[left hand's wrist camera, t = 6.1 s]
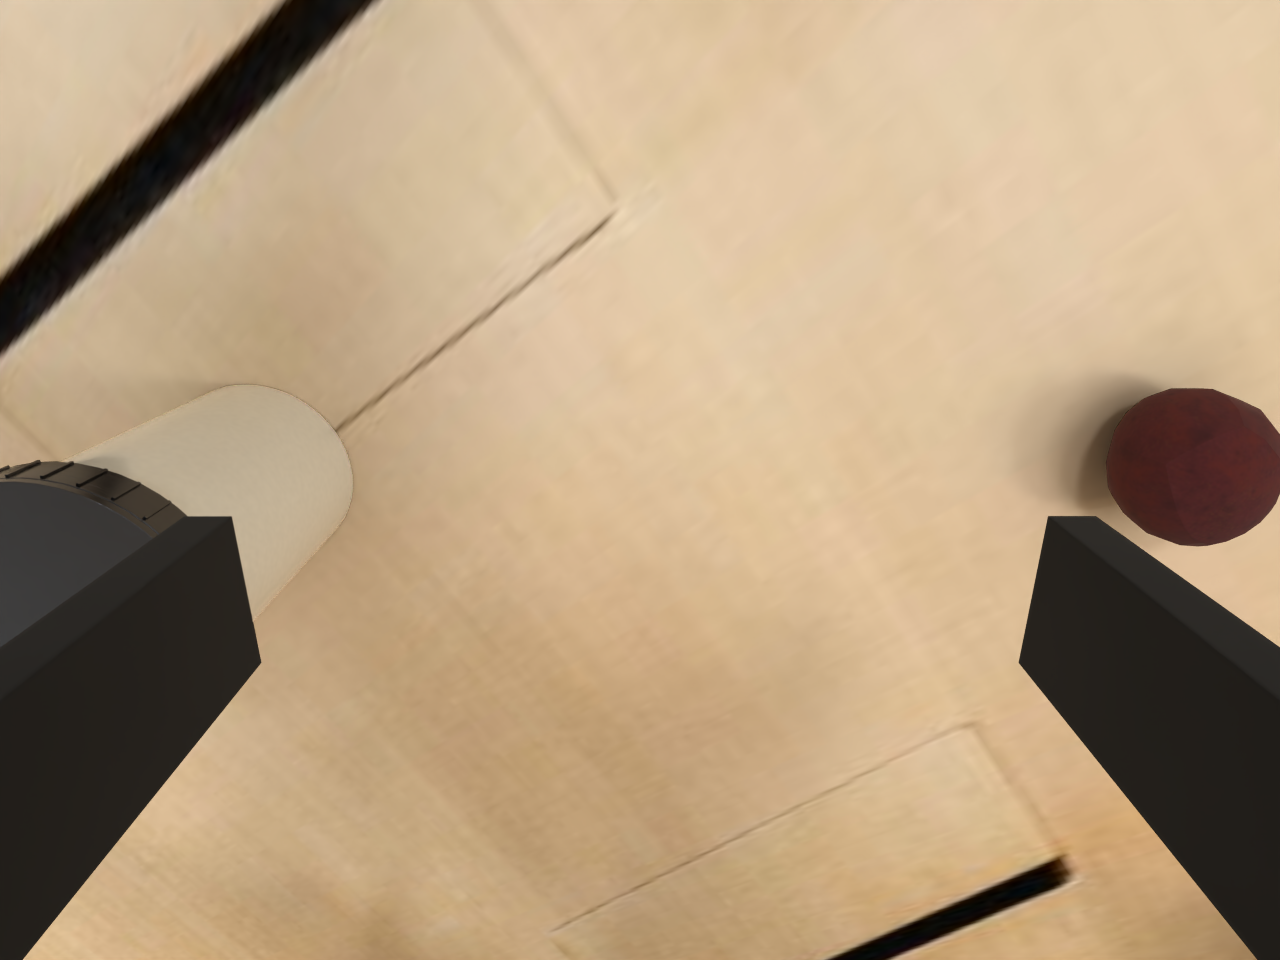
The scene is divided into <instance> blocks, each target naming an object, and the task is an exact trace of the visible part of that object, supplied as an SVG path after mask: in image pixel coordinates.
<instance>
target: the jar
mask: <svg viewBox="0 0 1280 960" xmlns="http://www.w3.org/2000/svg"><path fill="white" fill-rule="evenodd" d="M69 461H74V463H79V464H84V465H89V466H94V467H99V468H102V469H104V468H106V469H108V470H109V471H112V472H115V473H118V474H121V475H123V476H125V477H128V478H130V479H132V480H134V481H137V482H138V481H139V482H141V484H143V485H145V486H146V487H148V488H150V489H152V490H153V491H155V492H157V493H159V494H160V495H162V496H163V497H164V498H166V499H167V500H170V501H171V502H172V503H173V504H174V505H175V506H177V507H178V508H179V509H180V510H181V511H183V512H184V513H185V514H186V515H187V516H232V520H233V525H234V529H235V534H236V539H237V544H238V549H239V554H240V559H241V564H242V569H243V574H244V579H245V584H246V589H247V594H248V599H249V604H250V609H251V614H252V619H253V622H254V621H255V620H256V619H257V618H258V617H259V615H260V614H261V613H262V612H263V611H264V610H265V609H266V608H267V607H268V605H269V604H270V603H271V602H272V601H273V600H274V599H275V598H276V597H277V595H278V594H279V593H280V592H281V591H282V590H283V589H284V588H285V587H286V585H287V584H288V583H289V582H290V581H291V580H292V579H293V578H294V576H295V575H296V574H297V573H298V572H299V571H300V570H301V569H302V568H303V566H304V565H305V564H306V563H307V562H308V561H309V560H310V559H311V558H312V556H313V555H314V554H315V553H316V552H317V551H318V550H319V549H320V548H321V546H322V545H323V544H324V543H325V542H326V541H327V540H328V539H329V537H330V536H331V535H332V534H333V533H334V532H335V531H336V530H337V528H338V527H339V526H340V525H341V523H342V521H343V520H344V518H345V516H346V514H347V512H348V510H349V507H350V503H351V499H352V492H353V475H352V469H351V464H350V461H349V458H348V454H347V452H346V450H345V448H344V445H343V443H342V441H341V440H340V438H339V437H338V435H337V433H336V432H335V431H334V429H333V428H332V427H331V425H330V424H329V423H328V422H327V421H326V420H325V419H324V418H323V417H322V416H321V415H320V414H319V413H318V412H317V411H315V410H314V409H313V408H312V407H310V406H309V405H308V404H306V403H305V402H303V401H301V400H300V399H298V398H296V397H294V396H292V395H290V394H288V393H286V392H283V391H280V390H277V389H274V388H270V387H265V386H261V385H250V384H244V385H232V386H226V387H222V388H219V389H216V390H213V391H210V392H208V393H206V394H204V395H202V396H200V397H198V398H195V399H193V400H191V401H189V402H187V403H185V404H183V405H180V406H178V407H176V408H174V409H172V410H170V411H168V412H165V413H163V414H161V415H159V416H157V417H155V418H152V419H150V420H148V421H146V422H144V423H142V424H140V425H137V426H135V427H133V428H131V429H129V430H127V431H125V432H122V433H120V434H118V435H116V436H114V437H112V438H110V439H107V440H105V441H103V442H101V443H99V444H97V445H94V446H92V447H90V448H88V449H86V450H84V451H82V452H79V453H77V454H75V455H73V456H71V457H69V458H67V459H64V460H62V461H60V462H69Z"/></svg>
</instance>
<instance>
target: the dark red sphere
mask: <svg viewBox="0 0 1280 960" xmlns="http://www.w3.org/2000/svg"><path fill="white" fill-rule="evenodd" d="M1106 467H1107V479H1108V487H1109V490H1110V492H1111V494H1112V496H1113V497H1114V499H1115V501H1116V502H1117V504H1118V505H1119V507H1120V508H1121V510H1122V511H1123V513H1124V514H1125V515H1127V516H1128V517H1129V518H1130V519H1131V520H1132V521H1133V522H1134V523H1136V524H1137V525H1138V526H1139V527H1140V528H1142V529H1143V530H1144V531H1145V532H1146V533H1148V534H1151V535H1154V536H1156V537H1159V538H1162V539H1165V540H1167V541H1170V542H1173V543H1176V544H1178V545H1187V546H1208V545H1213V544H1217V543H1222V542H1226V541H1229V540H1231V539H1233V538H1235V537H1238V536H1240V535H1242V534H1245V533H1246V532H1247V531H1249V530H1250V529H1252V528H1253V527H1254V526H1256V525H1257V524H1259V523H1260V522H1261V521H1262V520H1263V519H1264V518H1265V517H1266V515H1267V514H1268V513H1269V512H1270V511H1271V510H1272V508H1273V507H1274V505H1275V504H1276V502H1277V499H1278V497H1279V494H1280V434H1279V433H1278V431H1277V430H1276V429H1275V427H1274V426H1273V425H1272V424H1271V422H1270V421H1269V420H1268V418H1267V417H1266V416H1265V415H1264V413H1263V412H1262V411H1261V410H1260V409H1258V408H1256V407H1254V406H1252V405H1250V404H1248V403H1245V402H1243V401H1241V400H1239V399H1236V398H1234V397H1231V396H1229V395H1226V394H1224V393H1221V392H1219V391H1216V390H1214V389H1199V388H1175V389H1168V390H1166V391H1163V392H1160V393H1157V394H1154V395H1151V396H1149V397H1146V398H1144V399H1142V400H1141V401H1140V402H1139V403H1137V404H1136V405H1135V406H1134V407H1133V408H1131V409H1130V410H1129V411H1128V412H1127V413H1126V414H1125V415H1124V417H1123V418H1122V420H1121V421H1120V423H1119V424H1118V426H1117V427H1116V429H1115V431H1114V435H1113V438H1112V442H1111V445H1110V449H1109V452H1108V456H1107V461H1106Z"/></svg>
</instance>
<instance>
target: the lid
mask: <svg viewBox="0 0 1280 960" xmlns="http://www.w3.org/2000/svg"><path fill="white" fill-rule="evenodd" d="M184 516H187V515H186V514H185V513H184V512H183V511H181V510H180V509H179V508H178V507H177V506H175V505H174V504H173V503H172V502H171V501H170V500H167V499H166V498H164V497H163V496H162V495H160V494H159V493H157V492H155V491H153V490H152V489H150V488H148V487H146V486H145V485H143V484H141V482H139V481H138V482H137V481H134V480H132V479H130V478H128V477H125V476H123V475H121V474H118V473H115V472H112V471H109V470H108V469H106V468H104V469H102V468H99V467H94V466H89V465H84V464H79V463H74V461H69V462H57V461H55V462H41V461H40V460H37V461H34V462H32V463H28V464H22V465H17V466H13V467H9V465H8V466H5V467H3V468H1V469H0V647H1V646H3V645H4V644H6V643H7V642H8V641H10V640H11V639H13V638H14V637H15V636H17V635H18V634H20V633H21V632H22V631H24V630H25V629H27V628H28V627H29V626H31V625H32V624H34V623H35V622H37V621H38V620H39V619H41V618H42V617H44V616H45V615H46V614H48V613H49V612H51V611H52V610H53V609H55V608H56V607H58V606H59V605H60V604H62V603H63V602H65V601H66V600H67V599H69V598H70V597H72V596H73V595H74V594H76V593H77V592H79V591H80V590H81V589H83V588H84V587H86V586H87V585H88V584H90V583H91V582H93V581H94V580H95V579H97V578H98V577H100V576H101V575H102V574H104V573H105V572H107V571H108V570H109V569H111V568H112V567H114V566H115V565H117V564H118V563H119V562H121V561H122V560H124V559H125V558H126V557H128V556H129V555H131V554H132V553H133V552H135V551H136V550H138V549H139V548H140V547H142V546H143V545H145V544H146V543H147V542H149V541H150V540H152V539H153V538H154V537H156V536H157V535H159V534H160V533H161V532H163V531H164V530H166V529H167V528H168V527H170V526H171V525H173V524H174V523H175V522H177V521H178V520H180V519H181V518H182V517H184Z"/></svg>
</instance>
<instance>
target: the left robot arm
mask: <svg viewBox="0 0 1280 960" xmlns="http://www.w3.org/2000/svg"><path fill="white" fill-rule="evenodd" d="M260 664H261V659H260V654H259V649H258V644H257V639H256V634H255V629H254V624H253V619H252V614H251V609H250V604H249V599H248V594H247V589H246V584H245V579H244V574H243V569H242V564H241V559H240V554H239V549H238V544H237V539H236V534H235V529H234V525H233V520H232V516H184V517H182V518H181V519H180V520H178V521H177V522H175V523H174V524H173V525H171V526H170V527H168V528H167V529H166V530H164V531H163V532H161V533H160V534H159V535H157V536H156V537H154V538H153V539H152V540H150V541H149V542H147V543H146V544H145V545H143V546H142V547H140V548H139V549H138V550H136V551H135V552H133V553H132V554H131V555H129V556H128V557H126V558H125V559H124V560H122V561H121V562H119V563H118V564H117V565H115V566H114V567H112V568H111V569H109V570H108V571H107V572H105V573H104V574H102V575H101V576H100V577H98V578H97V579H95V580H94V581H93V582H91V583H90V584H88V585H87V586H86V587H84V588H83V589H81V590H80V591H79V592H77V593H76V594H74V595H73V596H72V597H70V598H69V599H67V600H66V601H65V602H63V603H62V604H60V605H59V606H58V607H56V608H55V609H53V610H52V611H51V612H49V613H48V614H46V615H45V616H44V617H42V618H41V619H39V620H38V621H37V622H35V623H34V624H32V625H31V626H29V627H28V628H27V629H25V630H24V631H22V632H21V633H20V634H18V635H17V636H15V637H14V638H13V639H11V640H10V641H8V642H7V643H6V644H4V645H3V646H1V647H0V960H23V959H24V957H25V956H26V955H27V954H28V952H29V951H30V950H31V949H32V947H33V946H34V945H35V944H36V942H37V941H38V940H39V939H40V937H41V936H42V935H43V934H44V932H45V931H46V930H47V929H48V927H49V926H50V925H51V924H52V922H53V921H54V920H55V919H56V917H57V916H58V915H59V914H60V913H61V911H62V910H63V909H64V908H65V906H66V905H67V904H68V903H69V901H70V900H71V899H72V898H73V896H74V895H75V894H76V893H77V891H78V890H79V889H80V888H81V886H82V885H83V884H84V883H85V881H86V880H87V879H88V878H89V876H90V875H91V874H92V873H93V871H94V870H95V869H96V868H97V866H98V865H99V864H100V863H101V861H102V860H103V859H104V858H105V857H106V855H107V854H108V853H109V852H110V850H111V849H112V848H113V847H114V845H115V844H116V843H117V842H118V840H119V839H120V838H121V837H122V835H123V834H124V833H125V832H126V830H127V829H128V828H129V827H130V825H131V824H132V823H133V822H134V820H135V819H136V818H137V817H138V815H139V814H140V813H141V812H142V810H143V809H144V808H145V807H146V806H147V804H148V803H149V802H150V801H151V799H152V798H153V797H154V796H155V794H156V793H157V792H158V791H159V789H160V788H161V787H162V786H163V784H164V783H165V782H166V781H167V779H168V778H169V777H170V776H171V774H172V773H173V772H174V771H175V769H176V768H177V767H178V766H179V764H180V763H181V762H182V761H183V759H184V758H185V757H186V756H187V754H188V753H189V752H190V751H191V750H192V748H193V747H194V746H195V745H196V743H197V742H198V741H199V740H200V738H201V737H202V736H203V735H204V733H205V732H206V731H207V730H208V728H209V727H210V726H211V725H212V723H213V722H214V721H215V720H216V718H217V717H218V716H219V715H220V713H221V712H222V711H223V710H224V708H225V707H226V706H227V705H228V703H229V702H230V701H231V700H232V699H233V697H234V696H235V695H236V694H237V692H238V691H239V690H240V689H241V687H242V686H243V685H244V684H245V682H246V681H247V680H248V679H249V677H250V676H251V675H252V674H253V672H254V671H255V670H256V669H257V667H258V666H259V665H260ZM1019 664H1020V665H1021V666H1022V667H1023V669H1024V670H1025V671H1026V672H1027V674H1028V675H1029V676H1030V677H1031V679H1032V680H1033V681H1034V682H1035V684H1036V685H1037V686H1038V687H1039V689H1040V690H1041V691H1042V692H1043V694H1044V695H1045V696H1046V697H1047V699H1048V700H1049V701H1050V702H1051V703H1052V705H1053V706H1054V707H1055V708H1056V710H1057V711H1058V712H1059V713H1060V715H1061V716H1062V717H1063V718H1064V720H1065V721H1066V722H1067V723H1068V725H1069V726H1070V727H1071V728H1072V730H1073V731H1074V732H1075V733H1076V735H1077V736H1078V737H1079V738H1080V740H1081V741H1082V742H1083V743H1084V745H1085V746H1086V747H1087V748H1088V750H1089V751H1090V752H1091V753H1092V754H1093V756H1094V757H1095V758H1096V759H1097V761H1098V762H1099V763H1100V764H1101V766H1102V767H1103V768H1104V769H1105V771H1106V772H1107V773H1108V774H1109V776H1110V777H1111V778H1112V779H1113V781H1114V782H1115V783H1116V784H1117V786H1118V787H1119V788H1120V789H1121V791H1122V792H1123V793H1124V794H1125V796H1126V797H1127V798H1128V799H1129V801H1130V802H1131V803H1132V804H1133V806H1134V807H1135V808H1136V809H1137V810H1138V812H1139V813H1140V814H1141V815H1142V817H1143V818H1144V819H1145V820H1146V822H1147V823H1148V824H1149V825H1150V827H1151V828H1152V829H1153V830H1154V832H1155V833H1156V834H1157V835H1158V837H1159V838H1160V839H1161V840H1162V842H1163V843H1164V844H1165V845H1166V847H1167V848H1168V849H1169V850H1170V852H1171V853H1172V854H1173V855H1174V857H1175V858H1176V859H1177V860H1178V861H1179V863H1180V864H1181V865H1182V866H1183V868H1184V869H1185V870H1186V871H1187V873H1188V874H1189V875H1190V876H1191V878H1192V879H1193V880H1194V881H1195V883H1196V884H1197V885H1198V886H1199V888H1200V889H1201V890H1202V891H1203V893H1204V894H1205V895H1206V896H1207V898H1208V899H1209V900H1210V901H1211V903H1212V904H1213V905H1214V906H1215V908H1216V909H1217V910H1218V911H1219V913H1220V914H1221V915H1222V916H1223V917H1224V919H1225V920H1226V921H1227V922H1228V924H1229V925H1230V926H1231V927H1232V929H1233V930H1234V931H1235V932H1236V934H1237V935H1238V936H1239V937H1240V939H1241V940H1242V941H1243V942H1244V944H1245V945H1246V946H1247V947H1248V949H1249V950H1250V951H1251V952H1252V954H1253V955H1254V956H1255V957H1256V959H1257V960H1280V647H1279V646H1277V645H1276V644H1274V643H1273V642H1272V641H1270V640H1269V639H1267V638H1266V637H1265V636H1263V635H1262V634H1260V633H1259V632H1258V631H1256V630H1255V629H1253V628H1252V627H1251V626H1249V625H1248V624H1246V623H1245V622H1243V621H1242V620H1241V619H1239V618H1238V617H1236V616H1235V615H1234V614H1232V613H1231V612H1229V611H1228V610H1227V609H1225V608H1224V607H1222V606H1221V605H1220V604H1218V603H1217V602H1215V601H1214V600H1213V599H1211V598H1210V597H1208V596H1207V595H1206V594H1204V593H1203V592H1201V591H1200V590H1199V589H1197V588H1196V587H1194V586H1193V585H1192V584H1190V583H1189V582H1187V581H1186V580H1185V579H1183V578H1182V577H1180V576H1179V575H1178V574H1176V573H1175V572H1173V571H1172V570H1171V569H1169V568H1168V567H1166V566H1165V565H1163V564H1162V563H1161V562H1159V561H1158V560H1156V559H1155V558H1154V557H1152V556H1151V555H1149V554H1148V553H1147V552H1145V551H1144V550H1142V549H1141V548H1140V547H1138V546H1137V545H1135V544H1134V543H1133V542H1131V541H1130V540H1128V539H1127V538H1126V537H1124V536H1123V535H1121V534H1120V533H1119V532H1117V531H1116V530H1114V529H1113V528H1112V527H1110V526H1109V525H1107V524H1106V523H1105V522H1103V521H1102V520H1100V519H1099V518H1098V517H1096V516H1048V520H1047V525H1046V529H1045V534H1044V539H1043V544H1042V549H1041V554H1040V559H1039V564H1038V569H1037V574H1036V579H1035V584H1034V589H1033V594H1032V599H1031V604H1030V609H1029V614H1028V619H1027V624H1026V629H1025V634H1024V639H1023V644H1022V649H1021V654H1020V659H1019Z"/></svg>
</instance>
